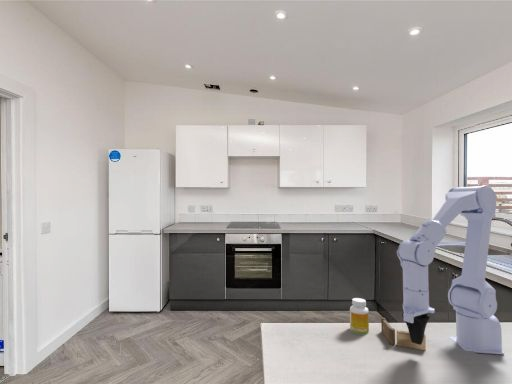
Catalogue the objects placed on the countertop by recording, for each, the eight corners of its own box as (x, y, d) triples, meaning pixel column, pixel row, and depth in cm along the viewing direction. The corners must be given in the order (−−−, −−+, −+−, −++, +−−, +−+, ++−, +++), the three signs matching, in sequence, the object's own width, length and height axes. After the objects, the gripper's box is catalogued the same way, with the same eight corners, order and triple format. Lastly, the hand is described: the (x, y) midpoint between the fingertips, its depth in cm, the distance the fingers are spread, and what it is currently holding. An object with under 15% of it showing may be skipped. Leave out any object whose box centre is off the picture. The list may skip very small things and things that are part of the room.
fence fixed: (385, 333, 87) (385, 317, 87) (396, 347, 78) (395, 330, 78) (380, 333, 87) (380, 317, 87) (389, 347, 78) (389, 330, 78)
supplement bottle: (371, 336, 84) (371, 303, 85) (353, 336, 85) (352, 302, 85) (365, 328, 90) (364, 297, 90) (347, 328, 90) (347, 296, 90)
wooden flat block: (396, 345, 78) (396, 331, 78) (396, 343, 79) (396, 329, 79) (425, 350, 75) (425, 335, 76) (425, 348, 76) (424, 334, 76)
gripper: (426, 298, 65) (428, 360, 65) (439, 285, 76) (441, 337, 75) (393, 292, 70) (394, 349, 69) (410, 280, 81) (411, 329, 80)
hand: (416, 342), depth 73 cm, fingers closed
